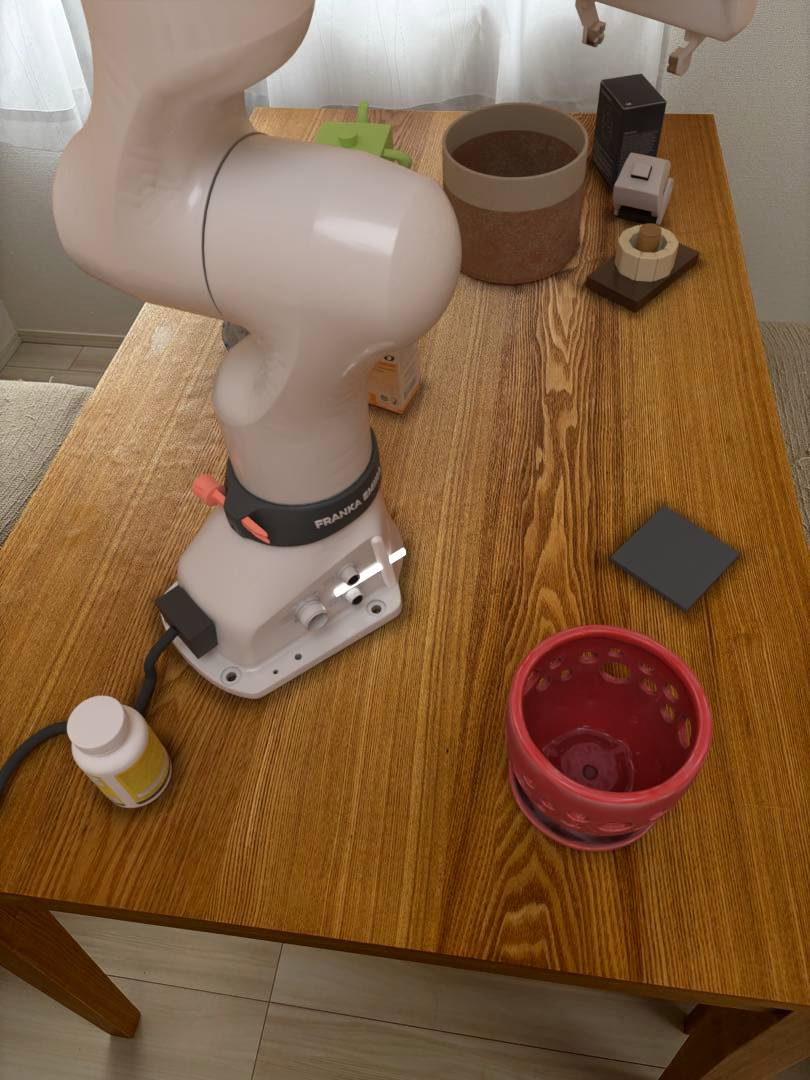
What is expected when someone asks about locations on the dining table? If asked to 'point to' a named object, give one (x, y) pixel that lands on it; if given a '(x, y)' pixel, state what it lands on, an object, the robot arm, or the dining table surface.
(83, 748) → the supplement bottle
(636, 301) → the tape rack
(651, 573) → the mat
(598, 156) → the box
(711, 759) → the dining table surface
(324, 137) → the teapot
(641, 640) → the flower pot
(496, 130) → the planter
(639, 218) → the grey boxy gadget
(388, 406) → the supplement box
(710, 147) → the dining table surface
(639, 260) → the tape roll
